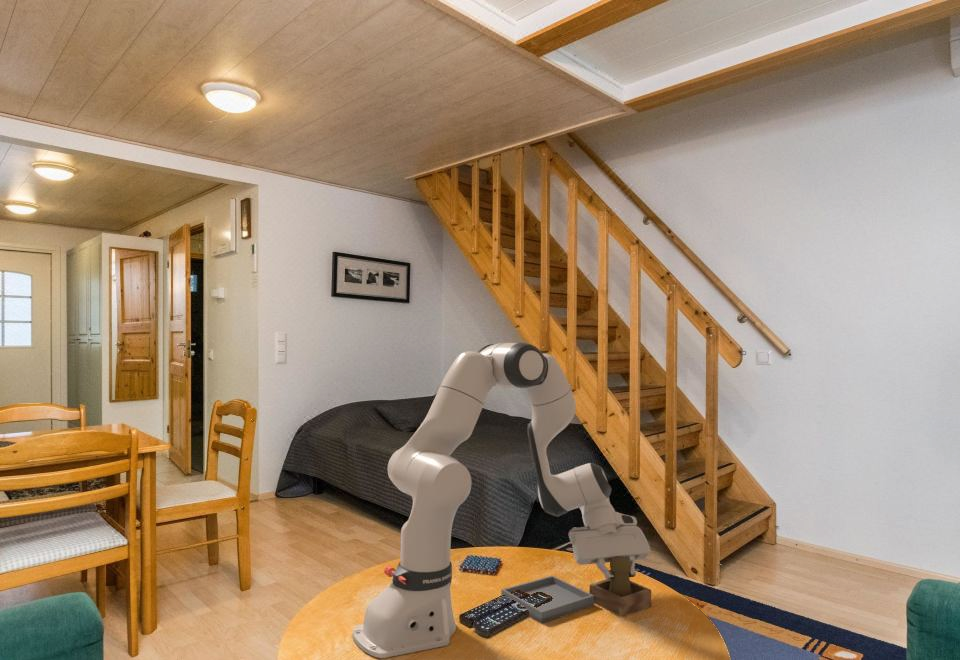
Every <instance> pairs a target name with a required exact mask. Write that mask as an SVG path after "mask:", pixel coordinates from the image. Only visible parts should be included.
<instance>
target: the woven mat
mask: <svg viewBox="0 0 960 660" xmlns="http://www.w3.org/2000/svg"><path fill="white" fill-rule="evenodd" d="M501 559H502V558H498V557H492V556H485V557H484V556H482V555H473V554H470V555H467V556H466V557H465V559H464V560H463V561H462V563H460V565H459V568H458V569H459V572H464V571H465V573H473V574H475V573H476V575H477V574H478V575H479V574H481V575H482V574H484V575H488V576H490V575H491V574H492V576H495V575H496V573H497V572H499V571H498V570H499V568H500V567H501V566H502V562H503V560H501Z"/></svg>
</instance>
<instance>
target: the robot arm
mask: <svg viewBox="0 0 960 660" xmlns="http://www.w3.org/2000/svg"><path fill="white" fill-rule="evenodd" d="M570 385H571V384H570V383H569V381H568V379H567V376H566V374H565V373H564V371H563V369H562V368H561V366H560V364H559V363H558V360H557V359H556V358H555V357H554V356H553V355H551V354H549V353H545V352H544V353H543V352H542V351H541V349H539V348H538V347H537V346H535V345H532V344H530V343H528V342H510V341H509V342H508V341H505V342H499V343H491V344H487V345H484V346H483V347H482V348H480V349H479V350H478V351H472V350H469V351H464V352H461V353H460V354H459V355H457V357H456V358H455V360H454V361H453V363H452V364H451V365H450V367H449V368H448V371H447V372H446V374H445V376H444V378H443V380H442V382H441V384H440V386H439V388H438V391H437V392H436V395H435V397H434V399H433V401H432V403H431V406H430V408H429V410H428V412H427V413H426V416H425V418H424V419H423V421H422V422H421V423H420V426H419V427H418V428H416V429H417V430H416V431H415V432H414V433H413V435H412V436H411V437H410V438H409V440H408V441H407V442H406V443H405V444H404V445H403V446H402V447H400V448H399V449H397V450H396V451H395V452H393V453H392V455H391V456H390V458H389V460H388V462H387V475H388V478H389V480H390V481H391V482H392V484H393V485H394V486H395V487H396V488H397V489H398V490H399V491H400V492H402V493H404V494H406V495H408V496H410V497H411V498H412V506H411V510H410V515H409V517H408V519H407V521H406V522H405V523H404V524H403V525H402V527H401V531H400V556H399V557H400V561H399V562H398V564H397V567H396V569H395V568H394V567H393V566H391V565H388V564H387V565H386V566H385V567H384V568H383V574H385V576H388V577H389V578H392V582H390V583H389V584H388V585H387V586H386V587H385V588H384V589H383V590H382V591H381V592H380V593H379V594H378V595H377V596H376V597H374V599H372V600H371V601H370V602H369V604H368V605H367V607H366V609H365V614H364V617H363V623H360V624H358V625H356V626H354V627H353V631H352V639H353V641H354V643H355V644H356V645H357V647H359V648H360V649H361V650H362V651H363V652H364V653H366V654H368V655H370V656H372V657H375V658H378V659H385V658H390V657H395V656H401V655H405V654H411V653H416V652H420V651H421V652H422V651H426V650H431V649H435V648H441V647H445V646H449V644H450V642H451V637H452V635H454V633H455V631H456V629H457V624H456V622H455V617H454V612H453V603H452V596H451V595H452V594H451V593H452V592H451V584H452V578H453V564H452V561H451V543H452V542H451V541H452V528H453V524H454V519H455V516H456V514H457V510H458V509H459V507H460V506H461V505H462V504H463V503H464V502H465V501H466V500H467V498H468V497H469V495H470V493H471V488H472V476H471V473H470V471H469V470H468V467H466V466H465V465H464V464H462V463H461V462H460V461H458V460H457V459H456V458H454V457H452V456H451V455H452V454H453V452H455V450H456V449H457V447H458V446H460V444H462V443H464V442H465V441H467V440H468V439H469V438H470V437H471V435H472V434H473V431H474V429H475V427H476V424H477V422H478V420H479V418H480V414H481V412H482V410H483V408H484V405H485V402H486V400H487V397H488V394H489V392H490V391H491V390H492V389H493V388H494V387H500V388H504V389H505V388H506V389H517V388H518V389H523V390H524V391H525V393H526V395H527V399H528V401H529V404H530V406H531V412H532V413H531V414H532V415H531V419H530V422H529V423H528V424H527V430H526V431H527V437H528V443H529V449H530V455H531V458H532V464H533V468H534V472H535V476H536V482H537V495H538V500H539V503H540V505H541V506H540V507H541V508H542V509H543V511H544V512H545V513H547V514H549V515H551V516H554V517H557V518H558V517H560V516H562V515H564V514H567V513H568V512H570V511H573V510H575V509H578V508H579V510H580V511H581V515H582V516H581V518H582V522H583V526H581V527H572V528H571V529H570V530H568V537H569V541H570V543H571V544H572V545H571V546H572V552H573V558H574V560H575V562H576V563H577V564H578V565H580V566H584V565H596V567H597V569H598V570H599V571H600V572H601V573H602V574H603V575H604V578H605V580H610V579H612V578H614V575H613V572H612V570H611V569H609V568H608V567H607V566H606V563H610V561H611V559H612V558H614V557H624V558H626V559H628V560H629V561H630V563H631V571H630V572H629V578H634V577H636V576H637V571H636V569H635V565H636V560H637V561H638V560H644V559H646V558H647V557H648V556H649V555H650V554H651V553H650V552H651V547H650V544H649V542H648V540H647V538H646V536H645V534H644V532H643V530H642V529H641V528H640V527H639V526H638V525H637V524H638V521H637V518H636V517H635V516H632V515H629V514H624V513H620V512H618V511H616V510H615V508H614V507H613V505H612V504H611V501H610V495H611V493H612V487H611V485H610V484H609V481H608V477H607V474H606V472H605V470H604V468H603V467H602V466H600V465H598V464H597V463H596V464H595V463H593V462H588V463H585V464H582V465H579V466H575V467H574V468H572V469H569V470H566V471H564V472H560V473H557V474H552V472H551V470H550V463H549V459H548V455H547V448H548V445H549V444H550V443H551V442H552V440H553V439H554V438H555V437H557V435H558V434H559V433H561V432H562V431H563V430H564V429H566V428H567V427H568V426H569V424H570V423H571V422H572V420H573V419H574V417H575V414H576V410H577V404H576V400H575V396H574V393H573V390H572V388H571V386H570Z"/></svg>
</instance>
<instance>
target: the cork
mask: <svg viewBox="0 0 960 660" xmlns="http://www.w3.org/2000/svg"><path fill="white" fill-rule="evenodd" d="M609 568H610V569H609V570H612V572H613V575H614V578H612V579H611V581H610V588H609V591H610V592H612V593H614V594H616V595H618V596H620V597H624V596H627V595H630V594H631V588H630V581H631V580H630V577H629V572H630V571H631V563H630V561H629V560H628V559H626V558H624V557H614V558H612V559H611V561H610V562H609Z"/></svg>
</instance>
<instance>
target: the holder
mask: <svg viewBox="0 0 960 660" xmlns="http://www.w3.org/2000/svg"><path fill="white" fill-rule="evenodd" d="M610 581H611V579H610V580H606V579H604V580H599V581H596V582H593V583H590V584H589V593H590V594H592V595H594V605H597V606H599V607H601V608H603V609H605V610H607V611H610V612H611V613H613V614H615V615H617V616H619V617H622V618H623V617H626V616H629V615H632V614H634V613H637V612H640V611H642V609H643V610H645V609H647V607H648V608H650V606H651V607H652V589H650V588H648V587H646V586H644V585H641V584H639V583H637V582H634V581H632V580H630V588H631V594H630V595H627V596H624V597H620V596H618V595H616V594H614V593H612V592H610V591H609V588H610Z"/></svg>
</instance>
